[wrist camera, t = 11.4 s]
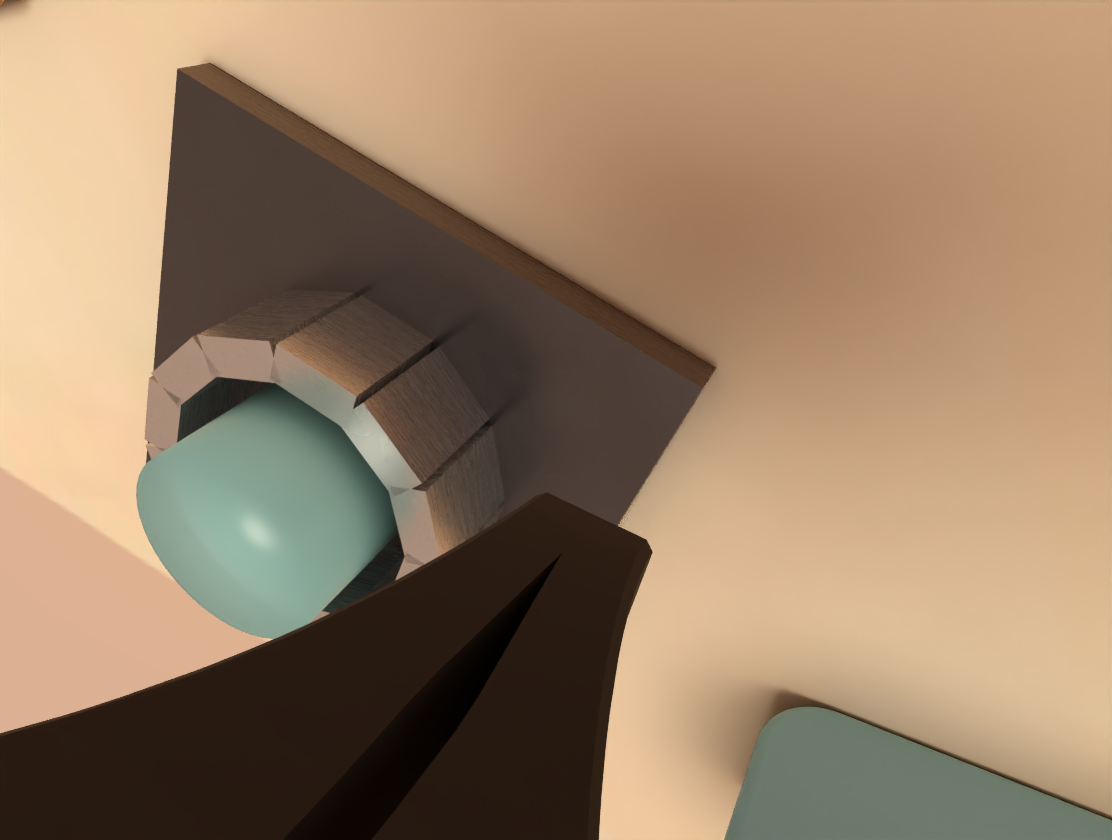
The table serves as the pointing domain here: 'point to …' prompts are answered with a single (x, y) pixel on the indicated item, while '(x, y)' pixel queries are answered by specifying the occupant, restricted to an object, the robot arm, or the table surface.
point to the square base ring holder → (393, 332)
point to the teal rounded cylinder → (265, 513)
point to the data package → (885, 790)
